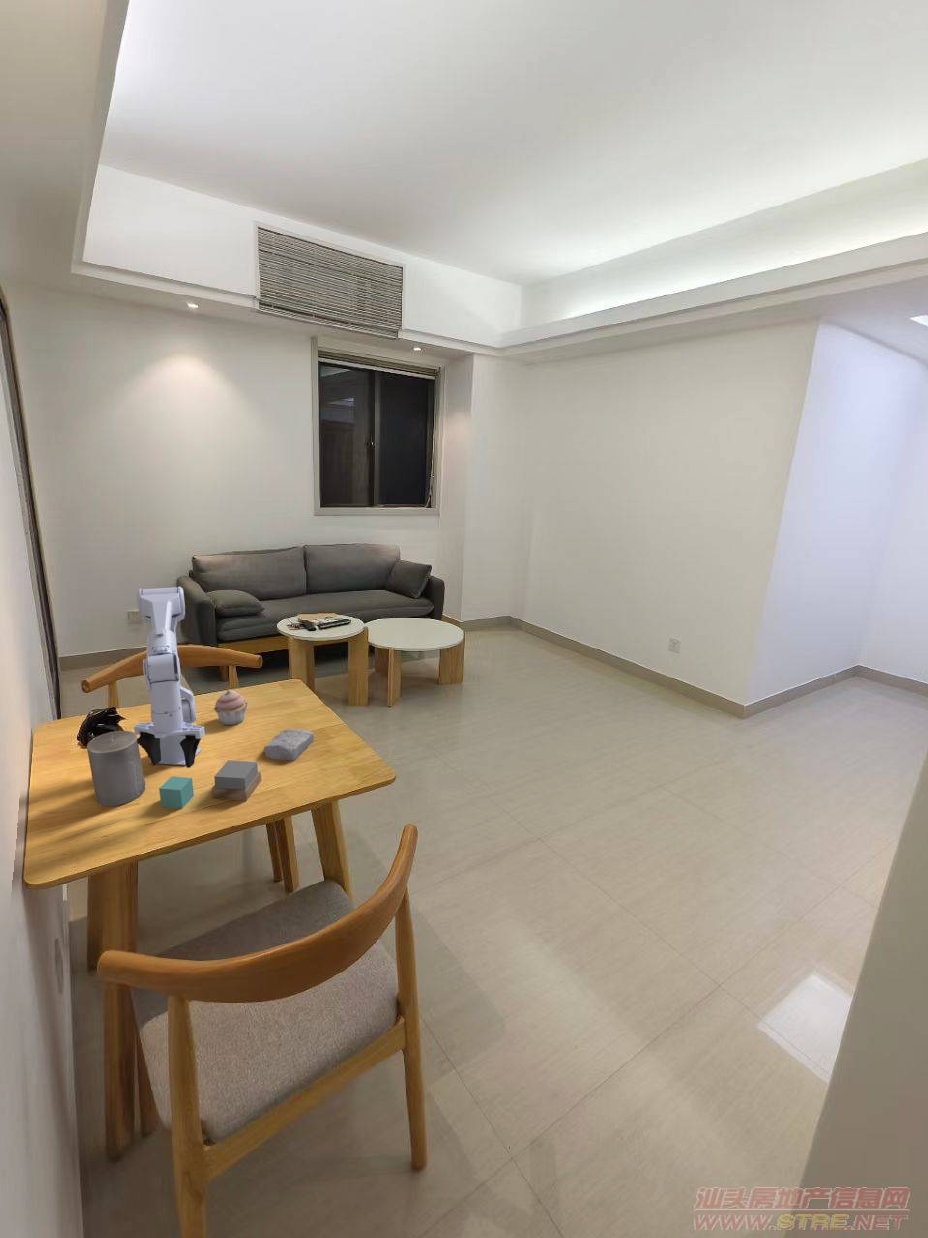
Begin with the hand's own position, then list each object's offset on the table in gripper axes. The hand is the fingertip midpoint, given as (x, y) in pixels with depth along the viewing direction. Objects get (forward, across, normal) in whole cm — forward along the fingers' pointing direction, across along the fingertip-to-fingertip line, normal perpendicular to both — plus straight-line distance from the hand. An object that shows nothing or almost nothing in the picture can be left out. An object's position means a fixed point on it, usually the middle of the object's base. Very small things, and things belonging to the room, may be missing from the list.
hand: (173, 764), depth 122 cm
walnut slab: (+10, +11, +6) cm, 16 cm away
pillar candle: (+10, -14, +1) cm, 17 cm away
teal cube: (+10, 0, 0) cm, 10 cm away
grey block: (+7, +11, +6) cm, 14 cm away
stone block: (+10, +16, +26) cm, 32 cm away
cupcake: (+10, -6, +39) cm, 41 cm away
